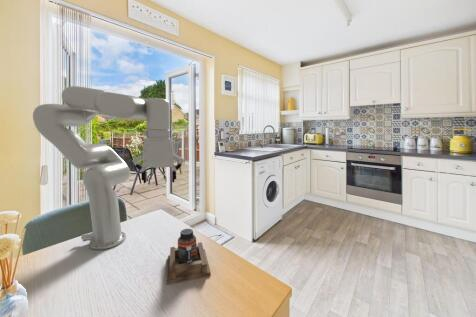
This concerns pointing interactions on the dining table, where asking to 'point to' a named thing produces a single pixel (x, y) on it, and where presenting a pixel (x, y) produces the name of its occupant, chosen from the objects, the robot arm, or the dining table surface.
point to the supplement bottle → (187, 247)
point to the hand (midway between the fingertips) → (159, 181)
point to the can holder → (187, 266)
